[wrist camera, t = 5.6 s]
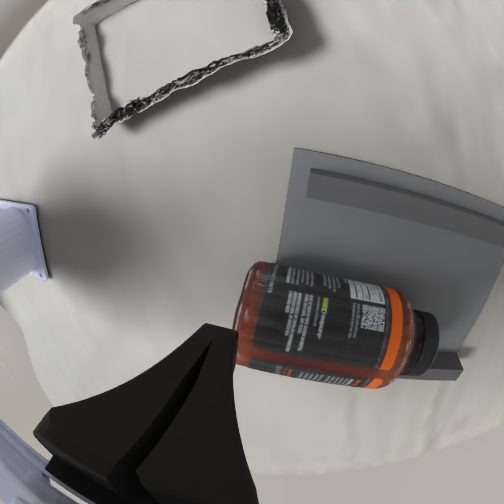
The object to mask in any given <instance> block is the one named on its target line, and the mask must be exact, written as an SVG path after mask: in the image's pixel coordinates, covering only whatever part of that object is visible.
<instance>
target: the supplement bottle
mask: <svg viewBox="0 0 504 504" xmlns="http://www.w3.org/2000/svg"><path fill="white" fill-rule="evenodd" d="M232 330H236V331H237V332H238V333H239V339H238V348H237V357H236V364H238V365H242V366H246V367H248V368H252V369H256V370H260V371H264V372H270V373H273V374H279V375H284V376H289V377H294V378H300V379H305V380H311V381H317V382H323V383H330V384H337V385H344V386H351V387H361V388H381V387H384V386H387V385H389V384H390V383H391V382H393V381H394V380H395V379H396V378H397V377H398V375H402V376H406V375H408V376H420V375H422V374H424V373H425V372H427V370H428V369H429V368H430V367H431V365H432V364H433V362H434V360H435V357H436V355H437V353H438V349H439V342H440V329H439V324H438V321H437V319H436V317H435V316H434V315H433V314H431V313H429V312H424V311H419V310H416V309H414V310H412V307H411V305H410V302H409V300H408V299H407V297H406V296H405V295H404V294H403V293H402V292H400V291H397V290H395V289H391V288H386V287H380V286H377V285H372V284H367V283H362V282H358V281H353V280H348V279H343V278H338V277H333V276H329V275H324V274H320V273H315V272H310V271H305V270H301V269H296V268H292V267H287V266H283V265H278V264H274V263H267V262H257V263H255V264H254V265H253V266H252V267H251V269H250V270H249V271H248V273H247V276H246V279H245V282H244V286H243V290H242V293H241V296H240V299H239V303H238V306H237V309H236V313H235V318H234V323H233V328H232Z"/></svg>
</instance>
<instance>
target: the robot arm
mask: <svg viewBox="0 0 504 504" xmlns="http://www.w3.org/2000/svg"><path fill="white" fill-rule="evenodd" d="M28 273H29V274H31V275H34V276H36V277H38V278H40V279H43V280H45V281H46V280H48V279H49V276H48V272H47V267H46V263H45V259H44V254H43V249H42V244H41V239H40V233H39V227H38V221H37V214H36V208H35V207H34V206H33V205H29V204H23V203H17V202H11V201H5V200H0V294H1V293H2V292H3V291H5V290H6V289H7V288H9V287H10V286H11V285H13V284H14V283H16V282H17V281H18V280H20V279H21V278H23V277H24V276H25V275H27V274H28ZM238 339H239V333H238V332H237V331H236V330H232V329H228V328H224V327H219V326H215V325H211V324H207V323H205V324H204V325H202V326H201V327H200V328H199V329H198V330H197V331H196V332H195V333H194V334H193V335H192V336H191V337H189V338H188V339H187V340H186V341H185V342H184V343H183V344H181V345H180V346H179V347H178V348H176V349H175V350H174V351H173V352H172V353H170V354H169V355H168V356H166V357H165V358H164V359H162V360H161V361H159V362H158V363H157V364H155V365H154V366H152V367H151V368H149V369H148V370H146V371H145V372H143V373H142V374H140V375H138V376H137V377H135V378H133V379H131V380H129V381H128V382H126V383H124V384H122V385H119V386H117V387H115V388H113V389H111V390H109V391H106V392H104V393H101V394H99V395H96V396H93V397H90V398H88V399H85V400H82V401H78V402H74V403H70V404H66V405H62V406H58V407H53V408H51V409H50V410H49V411H48V413H47V414H46V415H45V416H44V417H43V419H42V420H41V422H40V423H39V424H38V426H37V427H36V429H35V430H34V431H33V434H34V436H35V437H36V439H37V440H38V441H39V442H40V443H41V444H42V445H43V446H44V447H45V448H46V449H47V450H48V451H49V452H50V453H51V454H52V455H53V457H52V458H51V460H50V461H48V460H47V459H46V458H44V457H43V456H42V455H41V454H39V453H38V452H37V451H35V450H34V449H33V448H32V447H30V446H29V445H28V444H27V443H26V442H24V440H22V439H21V438H20V437H19V436H18V435H17V434H16V433H15V432H14V431H13V430H11V429H10V428H9V427H8V426H7V425H6V424H5V423H4V422H3V421H2V420H1V419H0V498H1V499H2V501H3V502H4V503H5V504H79V503H77V502H76V501H74V500H73V499H71V498H70V497H68V496H67V495H65V494H63V493H62V492H61V491H59V490H58V489H56V488H55V487H54V486H52V485H51V484H50V479H49V478H51V479H52V480H53V481H55V482H56V483H58V484H59V485H60V486H62V487H64V488H65V489H66V490H68V491H69V492H71V493H72V494H74V495H75V496H77V497H78V498H80V499H82V500H83V501H85V502H87V503H88V504H259V502H258V497H257V491H256V487H255V484H254V482H253V479H252V476H251V473H250V470H249V467H248V464H247V461H246V457H245V454H244V450H243V446H242V442H241V437H240V433H239V428H238V423H237V417H236V410H235V402H234V390H233V372H234V369H235V365H236V357H237V348H238Z"/></svg>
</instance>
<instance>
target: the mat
mask: <svg viewBox="0 0 504 504" xmlns="http://www.w3.org/2000/svg"><path fill="white" fill-rule="evenodd" d="M503 261H504V207H502V206H499V205H497V204H495V203H492V202H490V201H487V200H485V199H482V198H480V197H477V196H475V195H472V194H469V193H467V192H464V191H461V190H458V189H456V188H453V187H450V186H447V185H444V184H441V183H438V182H435V181H432V180H429V179H425V178H422V177H419V176H416V175H412V174H409V173H405V172H402V171H398V170H395V169H391V168H387V167H383V166H379V165H375V164H371V163H367V162H363V161H359V160H354V159H350V158H345V157H341V156H336V155H331V154H326V153H321V152H315V151H310V150H304V149H298V148H294V154H293V161H292V168H291V175H290V182H289V188H288V195H287V201H286V208H285V214H284V220H283V227H282V233H281V239H280V245H279V251H278V257H277V263H276V264H278V265H283V266H287V267H292V268H296V269H301V270H305V271H310V272H315V273H320V274H324V275H329V276H333V277H338V278H343V279H348V280H353V281H358V282H362V283H367V284H372V285H377V286H380V287H386V288H391V289H395V290H397V291H400V292H402V293H403V294H404V295H405V296H406V297H407V299H408V300H409V302H410V305H411V307H412V310H414V309H416V310H419V311H424V312H429V313H431V314H433V315H434V316H435V317H436V319H437V321H438V324H439V329H440V342H439V349H438V353H437V355H436V357H435V360H434V362H433V364H432V365H431V367H430V368H429V369H428V370H427V372H425V373H424V374H422V375H420V376H408V375H406V376H402V375H398V377H397V378H401V379H419V380H457V378H458V377H459V376H460V374H461V373H462V372H463V367H462V365H461V363H460V360H459V358H458V356H457V354H456V353H457V351H458V350H459V348H460V346H461V345H462V343H463V342H464V340H465V338H466V337H467V335H468V333H469V332H470V330H471V328H472V326H473V324H474V323H475V321H476V319H477V317H478V315H479V313H480V312H481V310H482V308H483V306H484V304H485V302H486V300H487V298H488V296H489V293H490V291H491V289H492V287H493V285H494V283H495V280H496V278H497V276H498V273H499V271H500V269H501V266H502V264H503Z"/></svg>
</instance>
